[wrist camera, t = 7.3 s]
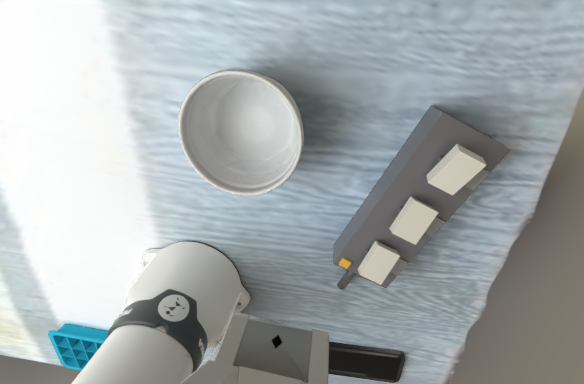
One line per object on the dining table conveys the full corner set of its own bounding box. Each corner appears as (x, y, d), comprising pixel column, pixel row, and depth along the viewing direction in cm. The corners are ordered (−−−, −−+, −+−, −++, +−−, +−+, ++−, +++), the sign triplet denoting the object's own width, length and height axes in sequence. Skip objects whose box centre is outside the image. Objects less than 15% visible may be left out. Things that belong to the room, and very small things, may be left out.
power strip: (363, 289, 45) (366, 313, 41) (317, 268, 45) (315, 290, 41) (492, 138, 33) (514, 151, 29) (431, 105, 32) (444, 114, 28)
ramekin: (286, 187, 40) (276, 214, 33) (193, 149, 39) (166, 169, 33) (326, 92, 34) (324, 103, 27) (218, 45, 33) (190, 45, 27)
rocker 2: (411, 239, 34) (415, 244, 33) (389, 228, 34) (392, 233, 33) (433, 207, 33) (438, 212, 32) (410, 196, 33) (414, 200, 32)
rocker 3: (450, 187, 32) (452, 195, 31) (426, 175, 32) (427, 182, 31) (482, 157, 29) (486, 165, 28) (456, 143, 29) (459, 150, 28)
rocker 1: (378, 278, 37) (381, 285, 36) (357, 269, 37) (359, 274, 36) (396, 250, 36) (400, 256, 35) (375, 240, 36) (378, 245, 35)
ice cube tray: (159, 370, 64) (152, 384, 61) (73, 354, 66) (62, 367, 63) (152, 334, 59) (143, 348, 56) (58, 318, 60) (46, 330, 58)
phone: (317, 344, 51) (406, 356, 50) (317, 338, 52) (404, 349, 51) (315, 372, 55) (398, 384, 53) (315, 366, 56) (397, 377, 54)
